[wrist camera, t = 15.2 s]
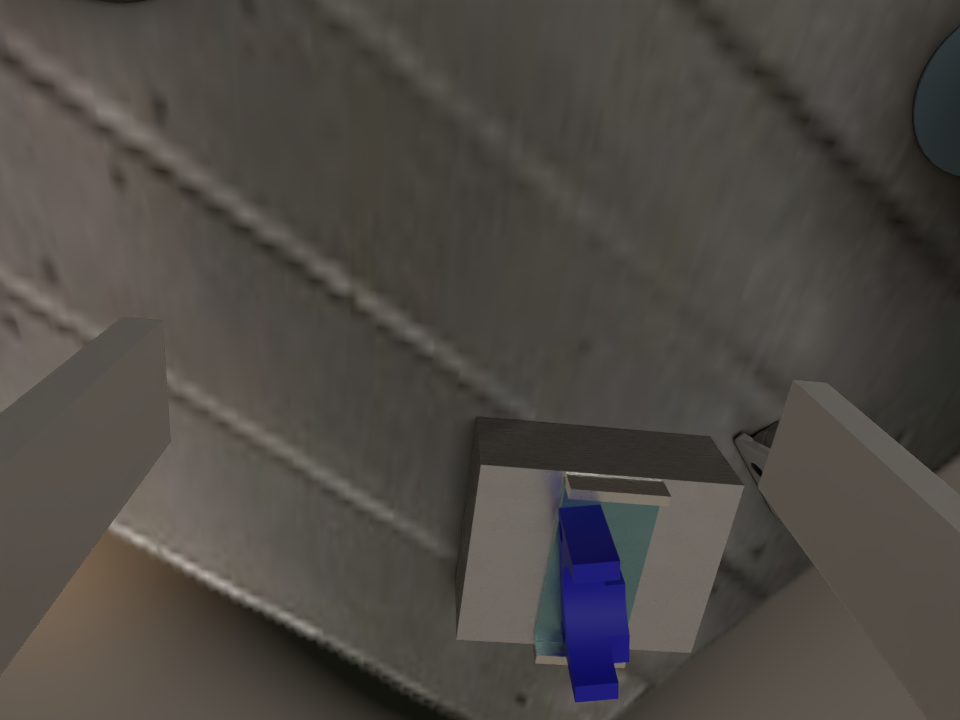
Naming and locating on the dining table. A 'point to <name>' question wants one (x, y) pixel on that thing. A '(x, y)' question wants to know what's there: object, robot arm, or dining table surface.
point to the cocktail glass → (940, 107)
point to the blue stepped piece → (591, 603)
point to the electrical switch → (757, 452)
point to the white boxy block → (629, 514)
